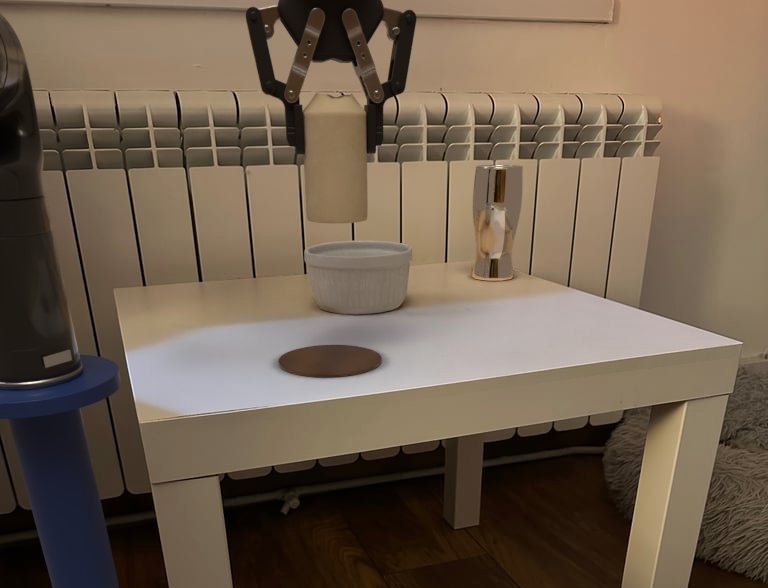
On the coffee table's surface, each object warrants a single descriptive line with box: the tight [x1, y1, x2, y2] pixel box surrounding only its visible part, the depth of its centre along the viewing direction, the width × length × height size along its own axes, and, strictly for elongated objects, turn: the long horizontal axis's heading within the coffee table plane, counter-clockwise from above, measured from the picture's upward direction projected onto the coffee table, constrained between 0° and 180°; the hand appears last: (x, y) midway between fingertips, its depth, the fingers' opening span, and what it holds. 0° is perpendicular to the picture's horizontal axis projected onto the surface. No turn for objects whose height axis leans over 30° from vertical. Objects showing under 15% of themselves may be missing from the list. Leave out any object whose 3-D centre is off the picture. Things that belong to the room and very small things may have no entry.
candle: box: [303, 92, 369, 224], centre depth 63 cm, size 6×6×10 cm
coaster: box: [277, 344, 383, 378], centre depth 71 cm, size 10×10×1 cm
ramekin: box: [303, 239, 413, 315], centre depth 91 cm, size 13×13×7 cm
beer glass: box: [471, 164, 524, 282], centre depth 105 cm, size 7×7×15 cm
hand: (334, 152), depth 63 cm, fingers closed on candle, 5 cm apart
